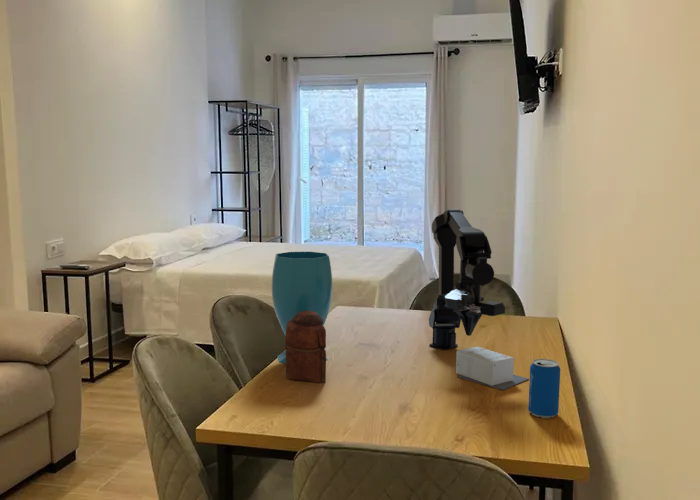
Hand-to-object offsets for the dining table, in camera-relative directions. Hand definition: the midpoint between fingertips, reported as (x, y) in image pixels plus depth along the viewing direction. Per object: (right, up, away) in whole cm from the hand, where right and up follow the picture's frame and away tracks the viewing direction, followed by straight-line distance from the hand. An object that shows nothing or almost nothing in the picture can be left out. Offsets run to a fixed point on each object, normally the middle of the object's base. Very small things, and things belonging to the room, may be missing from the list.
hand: (468, 335), depth 176 cm
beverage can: (+11, -14, -29) cm, 34 cm away
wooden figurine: (-43, -11, -6) cm, 45 cm away
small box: (-1, -7, +1) cm, 7 cm away
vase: (-46, -8, +13) cm, 48 cm away
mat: (+6, -11, -4) cm, 13 cm away
